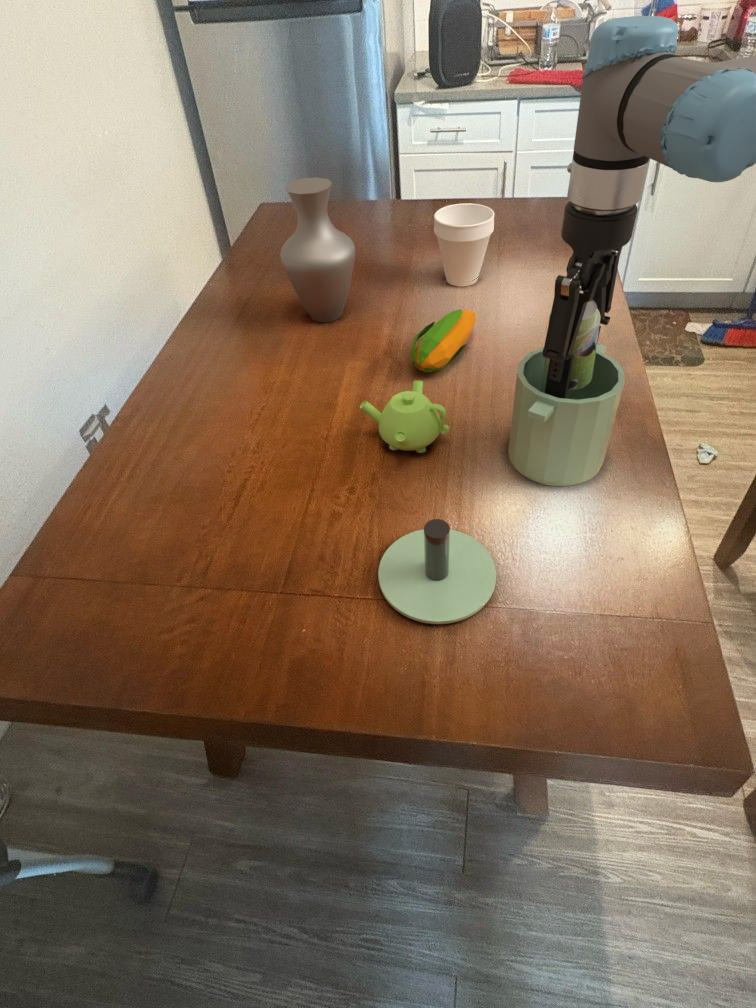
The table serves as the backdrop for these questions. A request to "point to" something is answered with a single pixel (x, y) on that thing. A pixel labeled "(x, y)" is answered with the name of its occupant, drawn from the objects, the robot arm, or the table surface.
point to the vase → (317, 252)
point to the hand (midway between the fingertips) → (568, 381)
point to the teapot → (409, 420)
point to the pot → (563, 422)
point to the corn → (442, 340)
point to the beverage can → (584, 348)
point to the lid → (437, 574)
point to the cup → (463, 240)
